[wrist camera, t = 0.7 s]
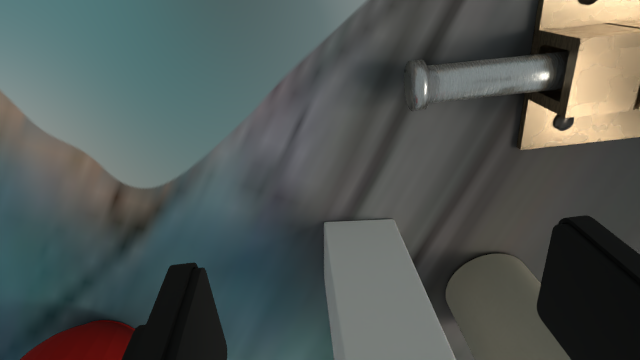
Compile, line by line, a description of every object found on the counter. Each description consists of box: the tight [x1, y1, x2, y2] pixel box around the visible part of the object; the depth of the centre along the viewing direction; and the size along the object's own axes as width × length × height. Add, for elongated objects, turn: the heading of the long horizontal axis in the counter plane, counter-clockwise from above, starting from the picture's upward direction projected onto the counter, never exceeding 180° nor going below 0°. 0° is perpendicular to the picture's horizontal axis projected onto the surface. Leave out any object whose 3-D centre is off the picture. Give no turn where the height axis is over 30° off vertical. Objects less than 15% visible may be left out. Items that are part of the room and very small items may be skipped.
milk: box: [324, 219, 456, 360], centre depth 25 cm, size 6×6×22 cm
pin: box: [404, 51, 570, 111], centre depth 26 cm, size 16×3×3 cm, turn 95°
